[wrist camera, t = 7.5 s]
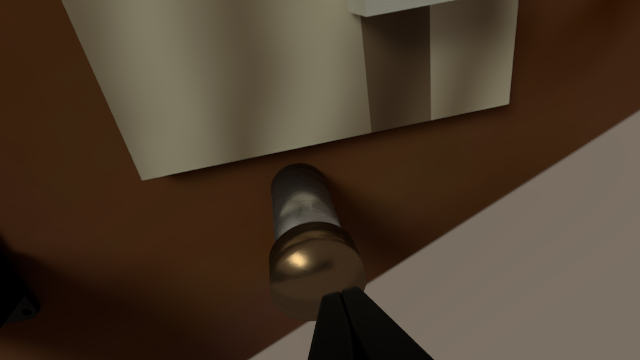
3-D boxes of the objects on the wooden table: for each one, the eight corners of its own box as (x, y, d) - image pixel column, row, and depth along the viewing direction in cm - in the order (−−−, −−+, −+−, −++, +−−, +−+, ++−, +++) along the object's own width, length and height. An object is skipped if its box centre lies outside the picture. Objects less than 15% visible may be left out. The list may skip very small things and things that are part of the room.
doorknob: (273, 221, 21) (281, 330, 14) (258, 166, 19) (259, 260, 13) (334, 208, 21) (370, 308, 15) (325, 152, 20) (361, 237, 13)
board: (150, 166, 18) (142, 180, 17) (19, -141, 13) (-8, -156, 11) (491, 96, 20) (509, 104, 18) (513, -217, 14) (540, -238, 13)
